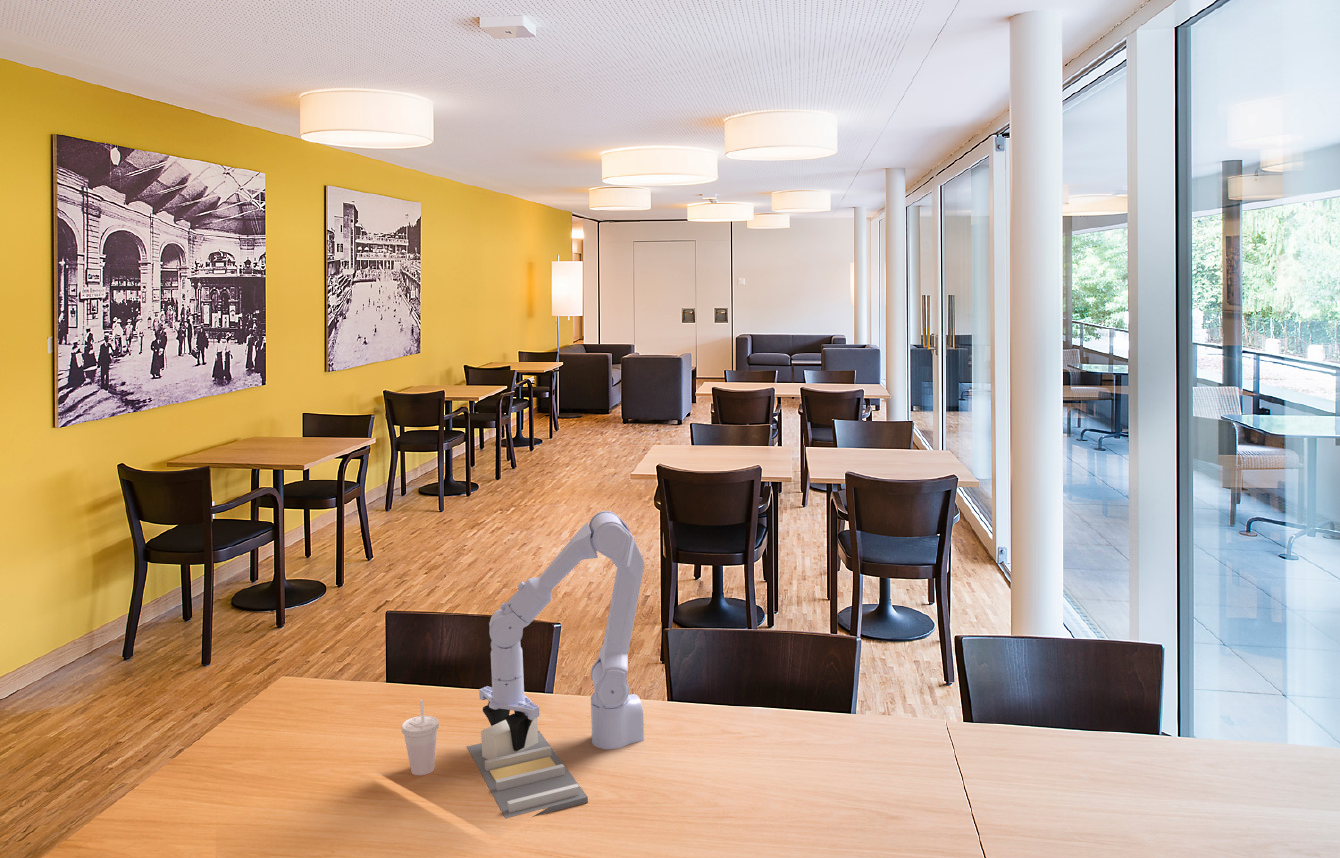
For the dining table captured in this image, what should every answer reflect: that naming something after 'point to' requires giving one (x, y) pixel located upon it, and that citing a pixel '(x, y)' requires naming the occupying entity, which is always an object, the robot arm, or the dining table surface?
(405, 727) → the smoothie
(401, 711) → the dining table surface
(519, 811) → the grey ridged board
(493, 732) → the frame block
